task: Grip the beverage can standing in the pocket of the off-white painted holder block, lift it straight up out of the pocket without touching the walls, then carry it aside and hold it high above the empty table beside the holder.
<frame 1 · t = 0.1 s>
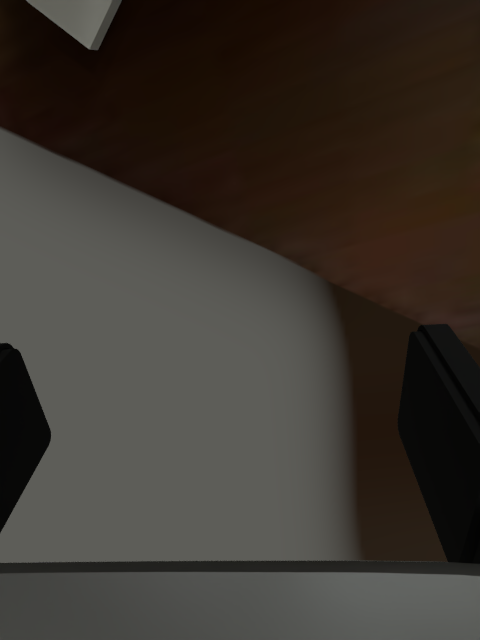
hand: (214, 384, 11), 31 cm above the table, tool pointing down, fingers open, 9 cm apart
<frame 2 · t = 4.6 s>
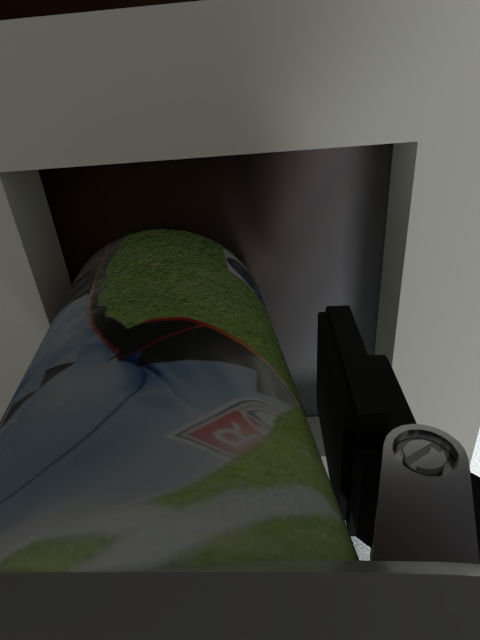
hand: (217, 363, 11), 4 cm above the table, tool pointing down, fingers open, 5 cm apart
beverage can: (195, 302, 15), resting in can holder, touching gripper
can holder: (225, 305, 15), on the table
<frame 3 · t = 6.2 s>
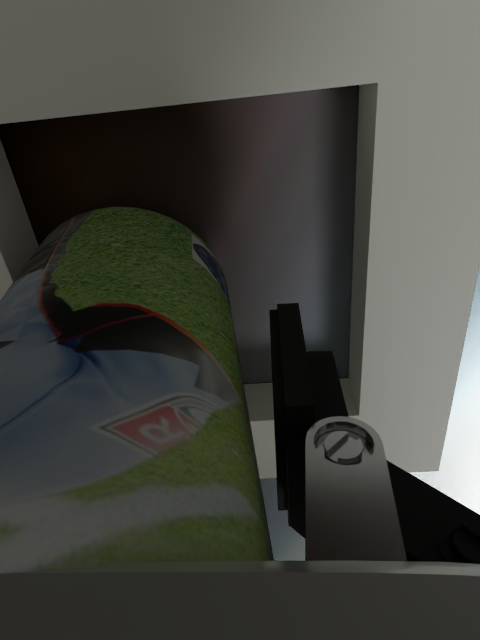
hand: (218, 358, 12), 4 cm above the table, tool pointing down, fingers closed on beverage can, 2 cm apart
beverage can: (162, 283, 15), resting in can holder, touching gripper
can holder: (198, 268, 14), on the table
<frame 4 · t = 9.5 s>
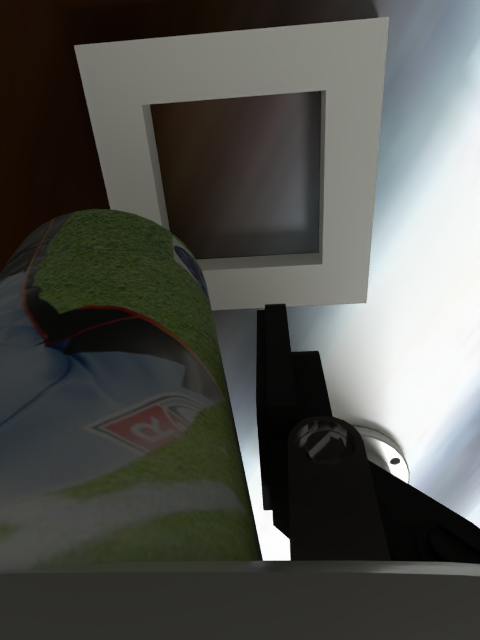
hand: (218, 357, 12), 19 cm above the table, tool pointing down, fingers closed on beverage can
beverage can: (141, 285, 15), point 15 cm above the table, touching gripper
can holder: (240, 183, 28), on the table
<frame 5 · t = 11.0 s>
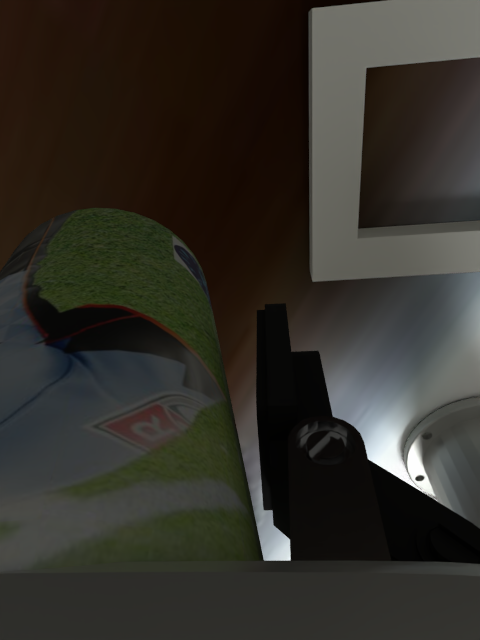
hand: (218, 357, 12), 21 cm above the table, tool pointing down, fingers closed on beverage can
beverage can: (142, 284, 15), point 17 cm above the table, touching gripper
can holder: (433, 149, 28), on the table
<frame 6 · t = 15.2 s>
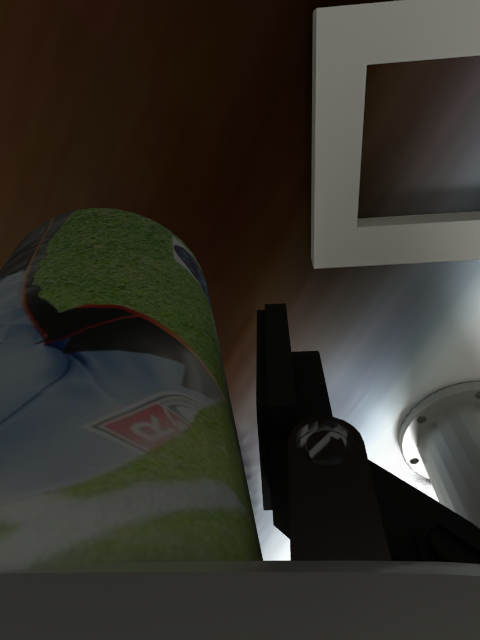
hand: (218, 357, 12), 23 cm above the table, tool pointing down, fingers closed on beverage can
beverage can: (141, 284, 15), point 19 cm above the table, touching gripper
can holder: (429, 142, 30), on the table
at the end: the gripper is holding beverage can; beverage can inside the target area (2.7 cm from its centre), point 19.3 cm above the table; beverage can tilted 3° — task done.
